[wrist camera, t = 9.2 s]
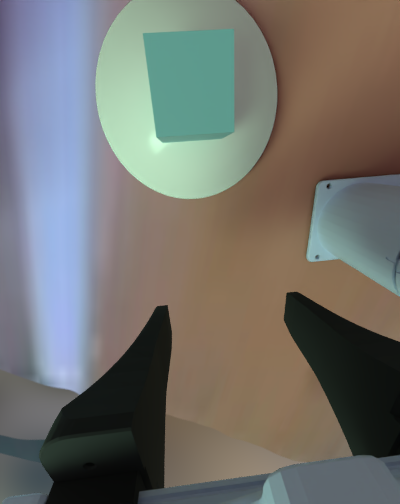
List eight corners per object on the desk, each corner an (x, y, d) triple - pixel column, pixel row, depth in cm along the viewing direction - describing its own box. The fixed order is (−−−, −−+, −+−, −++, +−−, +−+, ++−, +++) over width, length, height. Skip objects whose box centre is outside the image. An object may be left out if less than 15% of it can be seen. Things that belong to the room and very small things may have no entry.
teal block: (219, 65, 15) (234, 28, 11) (221, 138, 17) (234, 132, 12) (153, 68, 15) (142, 33, 10) (162, 143, 16) (156, 137, 12)
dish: (277, -10, 14) (284, -24, 13) (266, 190, 20) (271, 192, 18) (79, -1, 14) (70, -15, 13) (122, 202, 19) (118, 205, 18)
